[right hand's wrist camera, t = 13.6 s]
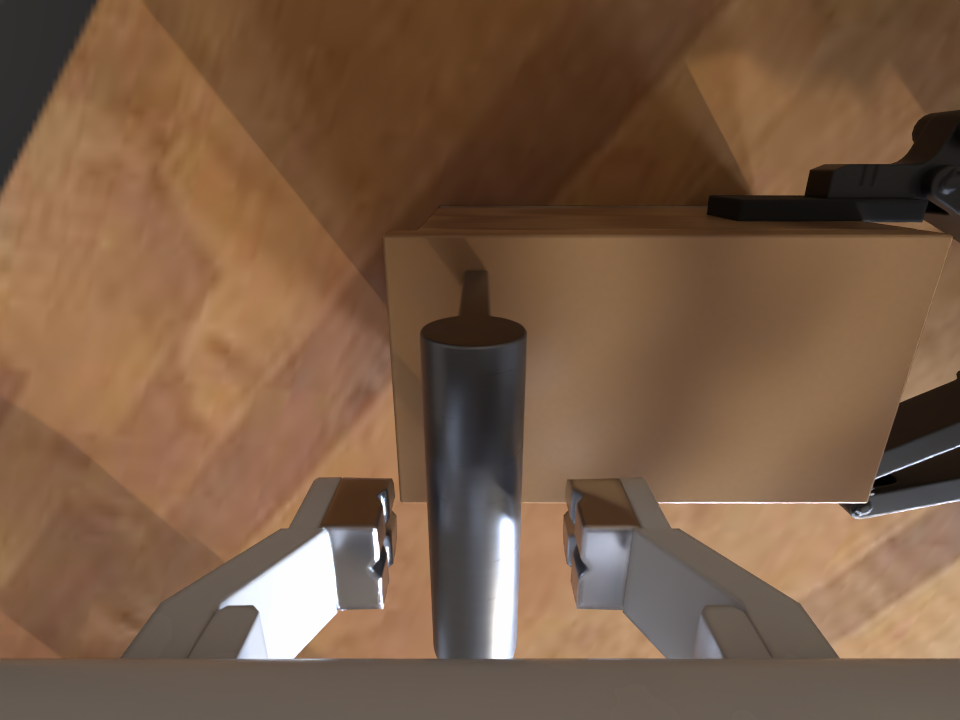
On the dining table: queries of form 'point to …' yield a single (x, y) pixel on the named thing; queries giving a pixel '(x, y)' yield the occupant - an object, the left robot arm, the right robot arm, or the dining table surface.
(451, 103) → the dining table surface
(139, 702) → the right robot arm
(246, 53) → the dining table surface
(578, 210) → the chest
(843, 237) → the lid
